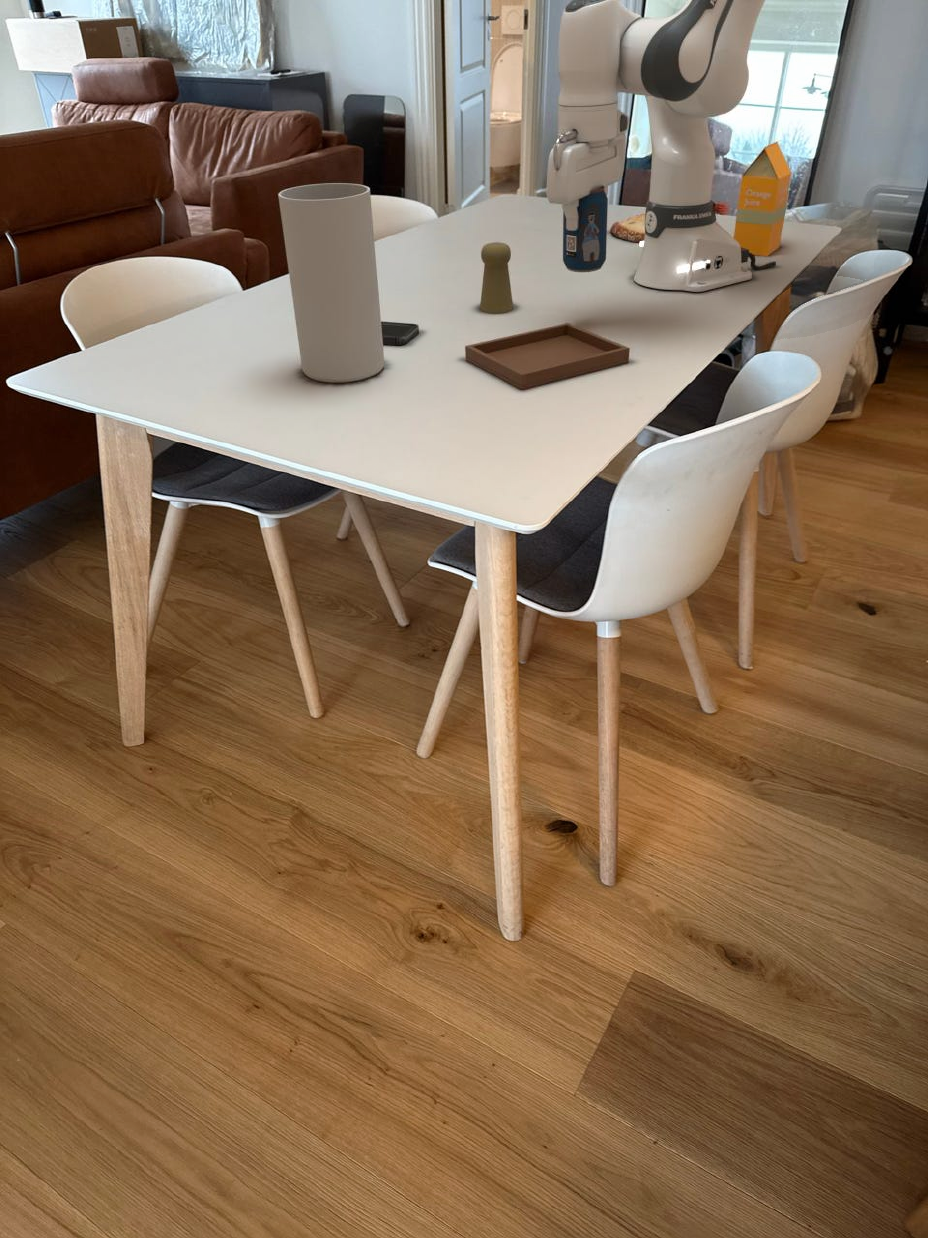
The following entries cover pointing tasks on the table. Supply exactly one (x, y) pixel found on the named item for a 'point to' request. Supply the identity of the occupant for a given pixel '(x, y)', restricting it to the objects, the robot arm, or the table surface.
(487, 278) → the olive pawn
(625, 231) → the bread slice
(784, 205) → the orange juice
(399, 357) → the table surface
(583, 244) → the soda can
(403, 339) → the phone
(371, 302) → the cylinder vase
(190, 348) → the table surface
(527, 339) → the tray
